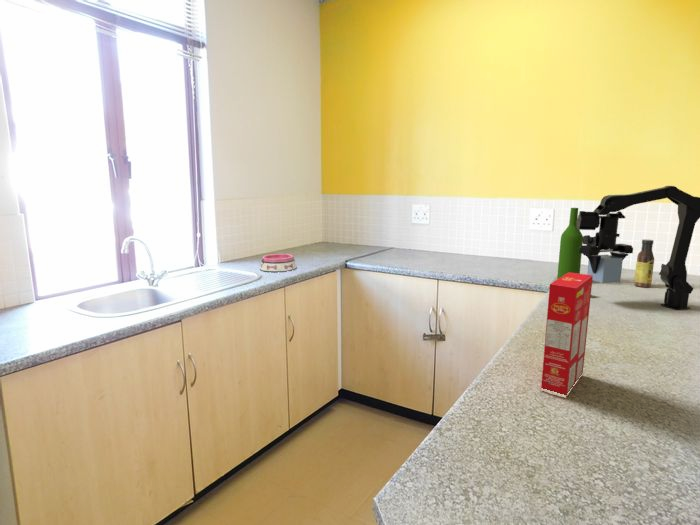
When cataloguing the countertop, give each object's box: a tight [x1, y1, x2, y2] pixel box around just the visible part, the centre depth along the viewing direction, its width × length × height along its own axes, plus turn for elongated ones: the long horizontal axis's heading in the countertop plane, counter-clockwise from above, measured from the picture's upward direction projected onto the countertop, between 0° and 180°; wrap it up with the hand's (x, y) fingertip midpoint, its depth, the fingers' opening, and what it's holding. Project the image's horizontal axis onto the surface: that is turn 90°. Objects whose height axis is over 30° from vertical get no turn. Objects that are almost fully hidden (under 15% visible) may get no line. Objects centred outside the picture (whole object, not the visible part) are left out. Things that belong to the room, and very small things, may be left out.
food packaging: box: [540, 272, 593, 395], centre depth 105 cm, size 15×5×25 cm, turn 141°
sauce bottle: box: [633, 238, 655, 288], centre depth 193 cm, size 7×6×20 cm
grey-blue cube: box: [586, 254, 624, 284], centre depth 168 cm, size 8×8×9 cm
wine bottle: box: [556, 207, 584, 280], centre depth 202 cm, size 9×9×32 cm
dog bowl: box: [259, 253, 297, 274], centre depth 233 cm, size 18×19×7 cm
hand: (603, 272), depth 169 cm, fingers closed on grey-blue cube, 8 cm apart
